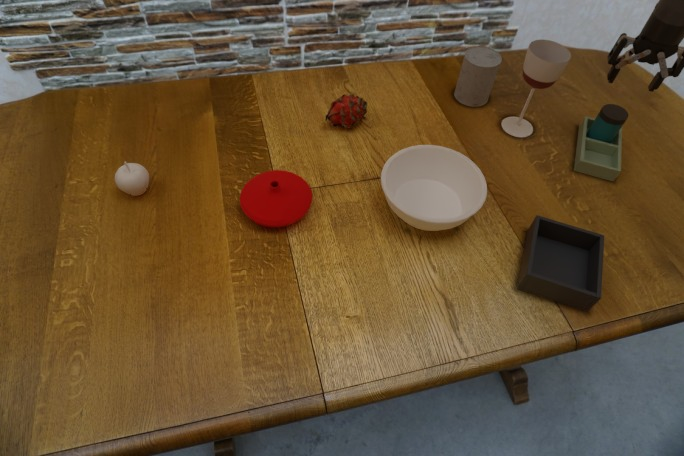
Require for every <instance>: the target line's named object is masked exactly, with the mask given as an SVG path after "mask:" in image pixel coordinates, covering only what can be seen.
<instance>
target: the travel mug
mask: <svg viewBox="0 0 684 456" xmlns="http://www.w3.org/2000/svg"><path fill="white" fill-rule="evenodd" d="M628 118H629V112H628V111H627V109H626V108H624V107H623V106H620V105H619V104H615V103H607V104H604V105H603V106H602V107H601V109H600V110H599V112H598V113H597V115H596V117H595V120H594V122H593V123H592V125H591V127H590V129H589V130H588V132H587V134H586V137H587V138H591V139H595V140H599V141H602V142H606V143H610V144H611V142H612V141H613V139H614V138H615V136H616V135H617V133H618V132H619V130H620V129H621V127H622V128H623V127H624V125H625V123H626V121H627V120H628Z"/></svg>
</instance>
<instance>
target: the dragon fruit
mask: <svg viewBox="0 0 684 456" xmlns="http://www.w3.org/2000/svg"><path fill="white" fill-rule="evenodd" d="M329 107H330V108H329V110H328V112H327V114H326V115H325V119H324V120H325V122H327V120H328V121H329V125H330V126H332V127H335V128H336V127H338V128H339V125H340V126H341V128H342V129H343V130H345V129H351V128H353V127H354V126H355V124H358V125H361V124H362V123H363V120H365V119H366V117H367V116H366V114H367V112H368V102H367V101H366V100H364V98H363V97H360V96H358V95H354V94H352V93H350V94H348V95H347V94H345V93H344V94H342V95H341V96H340V97H338V98H337V99H336V100H333V101H331V104H330V106H329Z"/></svg>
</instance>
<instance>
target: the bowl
mask: <svg viewBox="0 0 684 456" xmlns="http://www.w3.org/2000/svg"><path fill="white" fill-rule="evenodd" d="M380 183H381V188H382V191H383V194H384V196H385V199H386V202H387V204H388V206H389V208H390V209H391V211H392V212H393V213H394V214H395V215H396V216H397V217H398V218H400V219H401V220H402V221H403V222H404V223H406V224H408V226H411V227H413V228H414V229H417V230H421V231H425V232H438V231H439V232H440V231H444V230H450V229H454V228H456V227H459V226H460V225H462V224H464V223H465V222H467V221H468V220H470V218H472V217H473V216H474V215H476V214H477V213H478V212H479V211H480V209H482V207H483V206H484V204H485V202H486V200H487V195H488V184H487V180H486V177H485V175H484V173H483V172H482V170H481V169H480V168H479V166H478V165H477V164H476V162H474V161H472V160H471V159H470V158H469V157H468V156H466V155H465V154H463V153H462V152H459V151H457V150H455V149H452V148H449V147H445V146H442V145H436V144H418V145H411V146H408V147H404V148H402V149H400V150H398V151H396V152H395V153H394V154H392V155H391V156H390V157H389V158H388V159H387V160H386V162H385V163H384V165H383V167H382V169H381V174H380Z"/></svg>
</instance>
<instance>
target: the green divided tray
mask: <svg viewBox="0 0 684 456" xmlns="http://www.w3.org/2000/svg"><path fill="white" fill-rule="evenodd" d="M595 118H596V117H595ZM595 118H594V117H592V116H591V117H590V116H586V115H585V116H584V117H583V118H582V120H581V122H580V124H579V126H578V130H577V131H578V132H577V138H576V139H577V140H576V149H575V156H574V157H575V158H574V165H573V171H574V172H577V173H580V174H584V175H587V176H590V177H591V176H592V177H595V178H598V179H602V180H605V181H606V180H607V181H610V182H615V181H616V179H617V178H618V177H619V175H620V174H621V172H622V149H623V148H622V145H623V126H622V127H621V129H620V130H619V132H618V133H617V135H616V136H615V138H614V139H613V141H612V142H611V144H610V143H606V142H602V141H599V140H595V139H591V138H587V137H586V134H587V132H588V130H589V129H590V127H591V125H592V123H593V122H594V120H595Z"/></svg>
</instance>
